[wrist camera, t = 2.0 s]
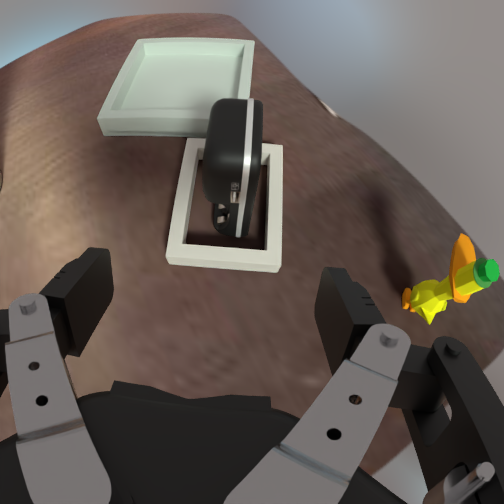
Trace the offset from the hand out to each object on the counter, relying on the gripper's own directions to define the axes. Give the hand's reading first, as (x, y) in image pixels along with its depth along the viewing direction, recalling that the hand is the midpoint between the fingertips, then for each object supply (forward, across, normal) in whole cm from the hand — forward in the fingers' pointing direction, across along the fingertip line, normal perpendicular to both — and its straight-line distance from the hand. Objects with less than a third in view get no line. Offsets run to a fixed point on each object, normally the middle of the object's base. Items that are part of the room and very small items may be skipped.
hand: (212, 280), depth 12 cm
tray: (+30, +7, -9) cm, 32 cm away
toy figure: (+13, -18, +8) cm, 24 cm away
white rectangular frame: (+19, 0, +3) cm, 19 cm away
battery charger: (+19, 0, +3) cm, 19 cm away
